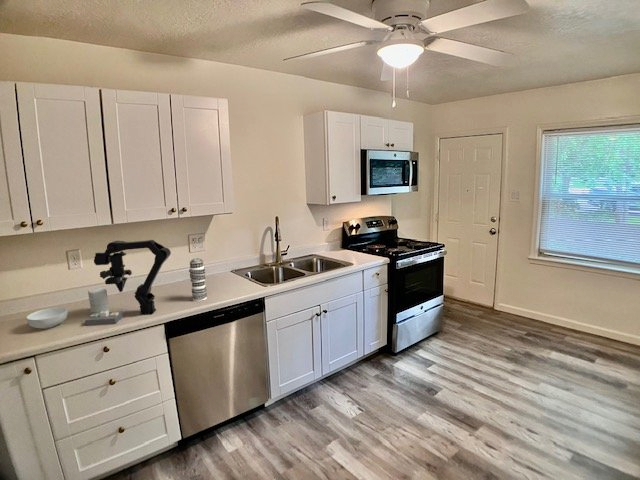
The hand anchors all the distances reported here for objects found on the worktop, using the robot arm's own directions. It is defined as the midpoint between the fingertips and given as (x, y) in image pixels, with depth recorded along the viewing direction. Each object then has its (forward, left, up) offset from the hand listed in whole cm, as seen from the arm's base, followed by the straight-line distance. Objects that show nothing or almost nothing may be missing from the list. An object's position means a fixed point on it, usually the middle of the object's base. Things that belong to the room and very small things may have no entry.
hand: (121, 291), depth 196 cm
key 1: (+11, +9, -12) cm, 18 cm away
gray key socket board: (+6, +9, -13) cm, 17 cm away
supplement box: (+16, -7, -13) cm, 22 cm away
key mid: (+6, +9, -11) cm, 15 cm away
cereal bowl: (+33, +10, -13) cm, 37 cm away
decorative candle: (-37, -18, -13) cm, 43 cm away
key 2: (+1, +8, -12) cm, 15 cm away
